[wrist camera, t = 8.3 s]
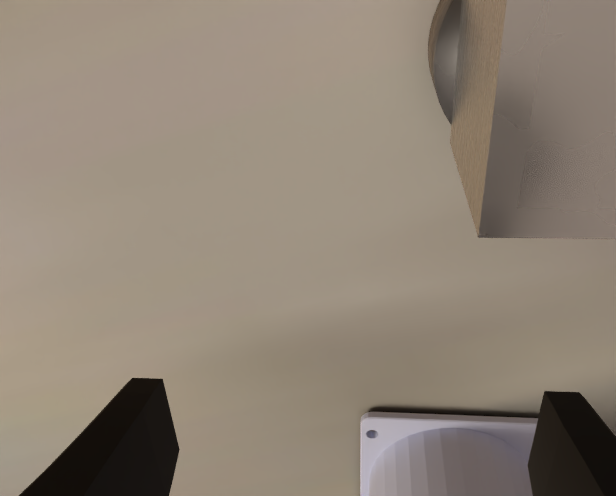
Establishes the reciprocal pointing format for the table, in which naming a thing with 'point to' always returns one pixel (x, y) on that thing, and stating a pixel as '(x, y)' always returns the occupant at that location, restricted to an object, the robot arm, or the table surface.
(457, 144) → the white wooden cube
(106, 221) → the table surface
